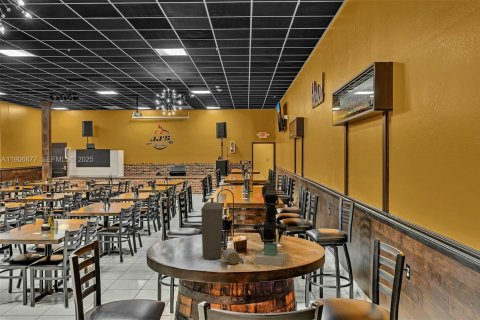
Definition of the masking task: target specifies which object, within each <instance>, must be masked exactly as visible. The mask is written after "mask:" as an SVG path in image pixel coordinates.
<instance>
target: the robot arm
mask: <svg viewBox="0 0 480 320" xmlns="http://www.w3.org/2000/svg"><path fill="white" fill-rule="evenodd" d="M261 196H262V199H263V205H264V206H265V213H264V215H265V218H264V221H263V223H259V222H255V223H254V224H253V230H255V231H256V232H257V233H258V234H259V236H260V239H261V243H263V245H264V244H266V243H276V242H277V241H278V242H277V244H279V243H280V241H281V240H282V236H283V234H284V233H285V232H287V231H288V230H289V225H288V224H285V223H283V224H282V223H281V224H279V225H277V214H278V210H277V206H278V205H279V203H280V199H279V194H278V193H277V191H276V186H275V185H274V183H273V182H267V183H264V185H263V186H262V187H261ZM275 230H278V239H277V234H276V232H275ZM262 251H264V249H263V250H262Z"/></svg>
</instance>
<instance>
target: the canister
mask: <svg viewBox="0 0 480 320" xmlns="http://www.w3.org/2000/svg"><path fill="white" fill-rule="evenodd" d="M209 199H210V202H209V201H207V202H205V204H204V205H203V206H202V207H201V210H200V211H201V212H200V213H201V243H202V244H201V245H202V246H201V247H202V248H201V249H202V258H203V259H205V260H212V261H213V260H219V259H221V258H222V251H223V250H222V248H223V247H222V245H223V242H222V240H223V210H224V208H223V206H222V205H221V204H219V202H216V201H214V199H215V198H214V197H210V198H209Z"/></svg>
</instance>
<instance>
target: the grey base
mask: <svg viewBox="0 0 480 320" xmlns="http://www.w3.org/2000/svg"><path fill="white" fill-rule="evenodd" d="M286 259H287V253H286V252H278V251H277V255H276V256H264V251H263V250H262V251H260V252H259V253H258V254H257V255H256V256H255V259H254V260H255V262H254V263H255V265H267V266H277V267H278V266H279V267H281V266H282V265H283V264H284V263H285V261H287V260H286Z"/></svg>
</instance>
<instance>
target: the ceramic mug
mask: <svg viewBox="0 0 480 320" xmlns="http://www.w3.org/2000/svg"><path fill="white" fill-rule="evenodd" d="M222 255H223V259H224V261H226V262H227V263H228V264H230V265H236V264H238V263H241V264H243V263H244V262H245V260H244V259H243V258H241V257H240V255H239V253H238V252H237V250H235V249H234V248H232V247H230V248H226V249H225V250H224V251H223V254H222Z"/></svg>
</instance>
